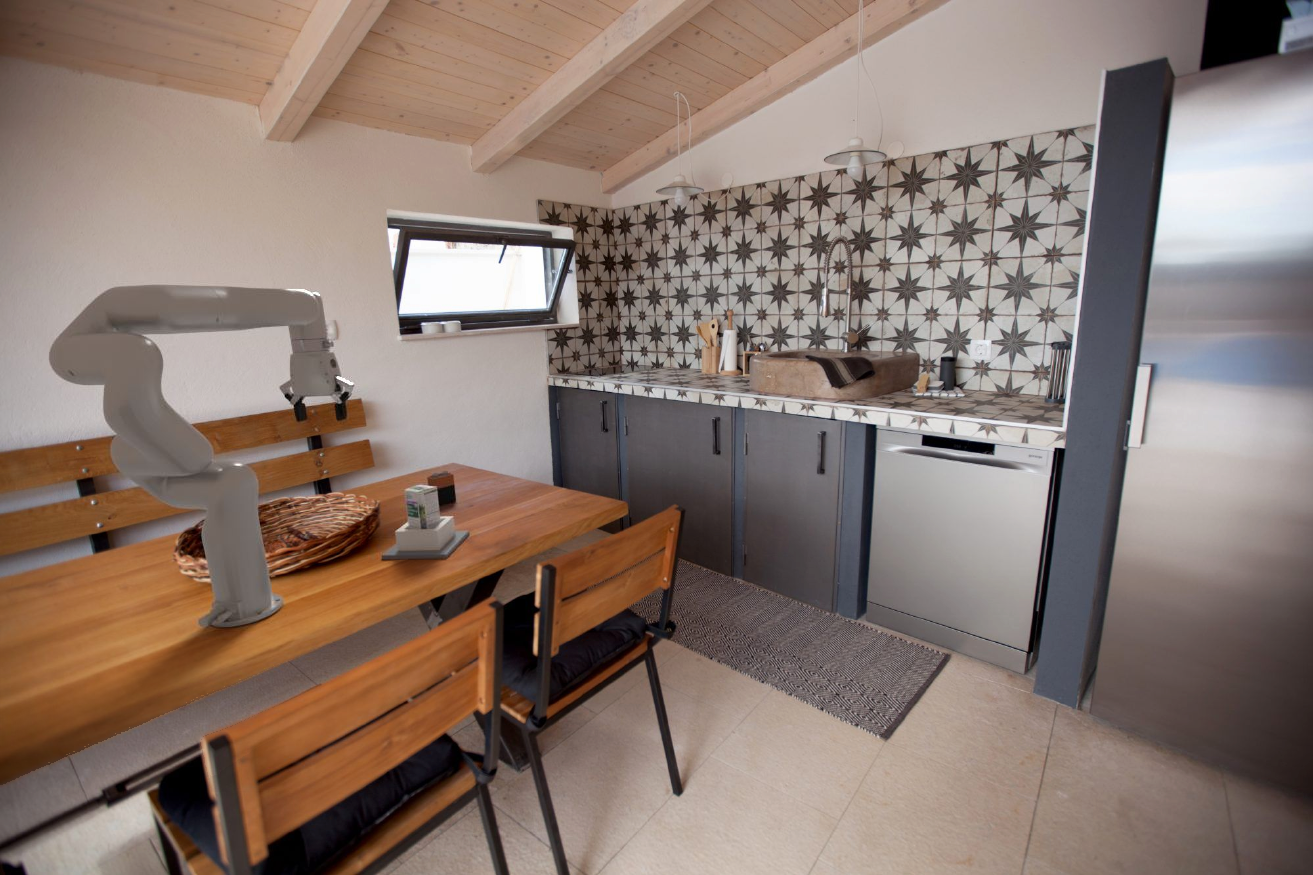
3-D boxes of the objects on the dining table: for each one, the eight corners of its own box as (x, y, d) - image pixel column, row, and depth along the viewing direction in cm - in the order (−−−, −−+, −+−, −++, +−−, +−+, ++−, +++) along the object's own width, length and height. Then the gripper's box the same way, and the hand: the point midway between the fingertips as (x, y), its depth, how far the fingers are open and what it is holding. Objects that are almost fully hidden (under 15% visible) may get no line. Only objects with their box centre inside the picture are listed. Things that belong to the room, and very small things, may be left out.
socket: (446, 558, 147) (443, 534, 146) (382, 559, 148) (378, 535, 147) (469, 533, 163) (467, 512, 161) (411, 534, 163) (408, 513, 162)
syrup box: (409, 544, 154) (402, 489, 151) (427, 536, 159) (421, 483, 156) (426, 547, 151) (419, 492, 148) (443, 539, 156) (437, 485, 153)
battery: (429, 504, 189) (426, 473, 187) (449, 499, 194) (446, 468, 192) (436, 507, 186) (433, 475, 184) (457, 501, 191) (453, 470, 189)
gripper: (355, 344, 143) (365, 416, 146) (285, 347, 144) (296, 418, 147) (337, 347, 135) (348, 422, 139) (263, 349, 136) (276, 424, 140)
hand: (321, 420), depth 143 cm, fingers open, 9 cm apart
